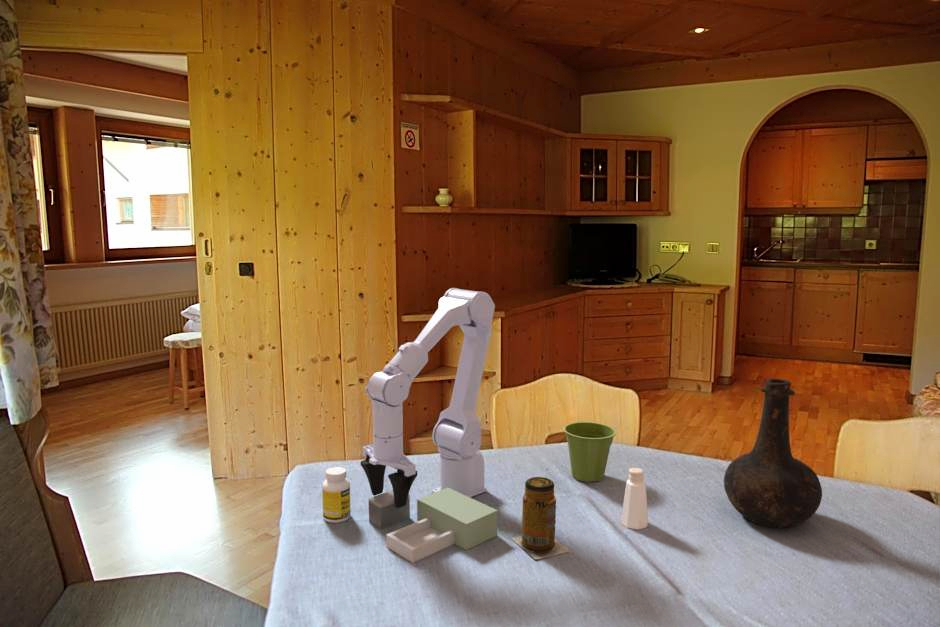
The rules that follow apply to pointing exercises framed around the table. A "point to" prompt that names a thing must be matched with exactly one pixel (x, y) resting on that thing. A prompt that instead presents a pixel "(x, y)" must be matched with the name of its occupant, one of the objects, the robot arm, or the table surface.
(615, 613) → the table surface
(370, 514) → the grey rectangular block
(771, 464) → the glass bottle
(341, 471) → the supplement bottle
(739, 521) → the table surface
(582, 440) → the plant pot
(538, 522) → the condiment
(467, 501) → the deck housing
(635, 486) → the salt shaker
